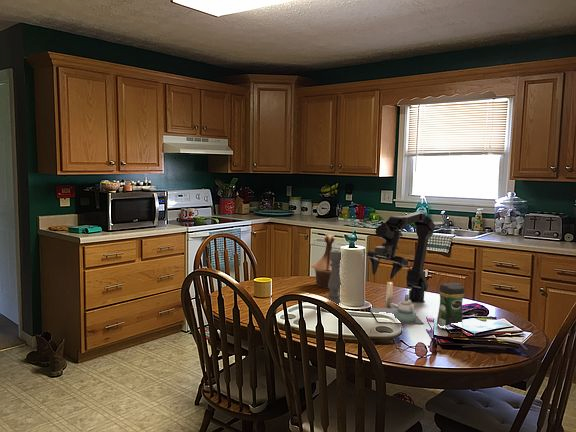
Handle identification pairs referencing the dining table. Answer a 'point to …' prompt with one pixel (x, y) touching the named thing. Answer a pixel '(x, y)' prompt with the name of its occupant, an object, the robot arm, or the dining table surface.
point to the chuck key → (402, 306)
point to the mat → (393, 313)
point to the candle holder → (334, 277)
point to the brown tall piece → (324, 264)
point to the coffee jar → (450, 303)
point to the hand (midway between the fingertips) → (381, 276)
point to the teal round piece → (405, 316)
